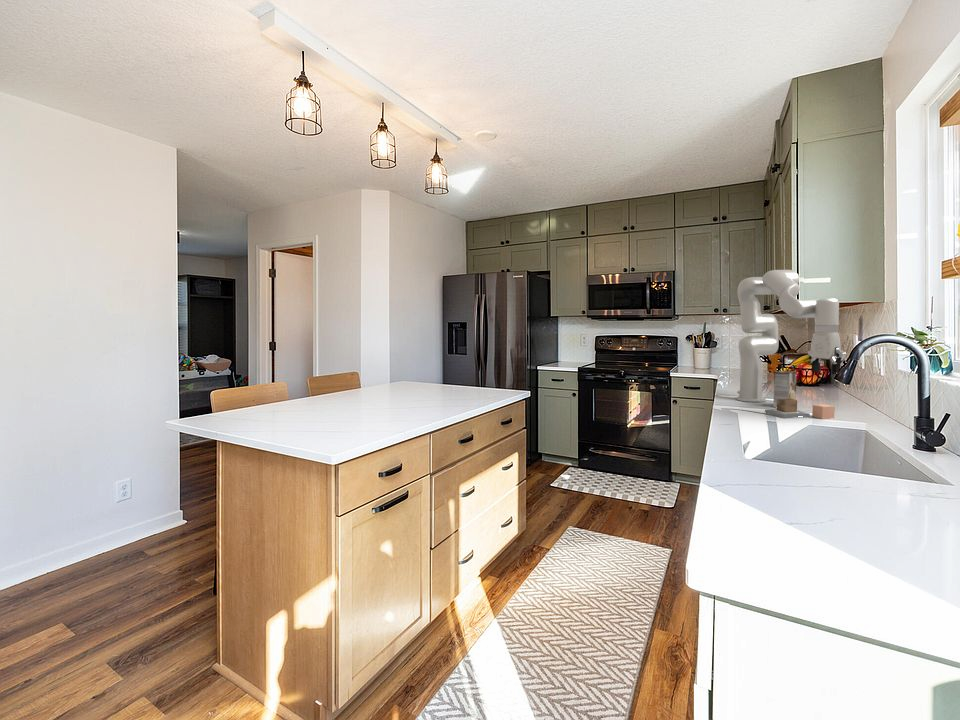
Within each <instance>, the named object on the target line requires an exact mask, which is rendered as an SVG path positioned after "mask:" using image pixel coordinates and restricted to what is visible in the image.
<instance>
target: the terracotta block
mask: <svg viewBox="0 0 960 720" xmlns="http://www.w3.org/2000/svg"><path fill="white" fill-rule="evenodd" d="M835 409H836V406H834V405H830V404H824V403H823V404H812V410H811V411H812V414H811V417H812V416H814V417H813V418H815V417H817V418H816V419H819V418H820V419H821V420H831V419H830V418H834V419H835Z"/></svg>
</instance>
